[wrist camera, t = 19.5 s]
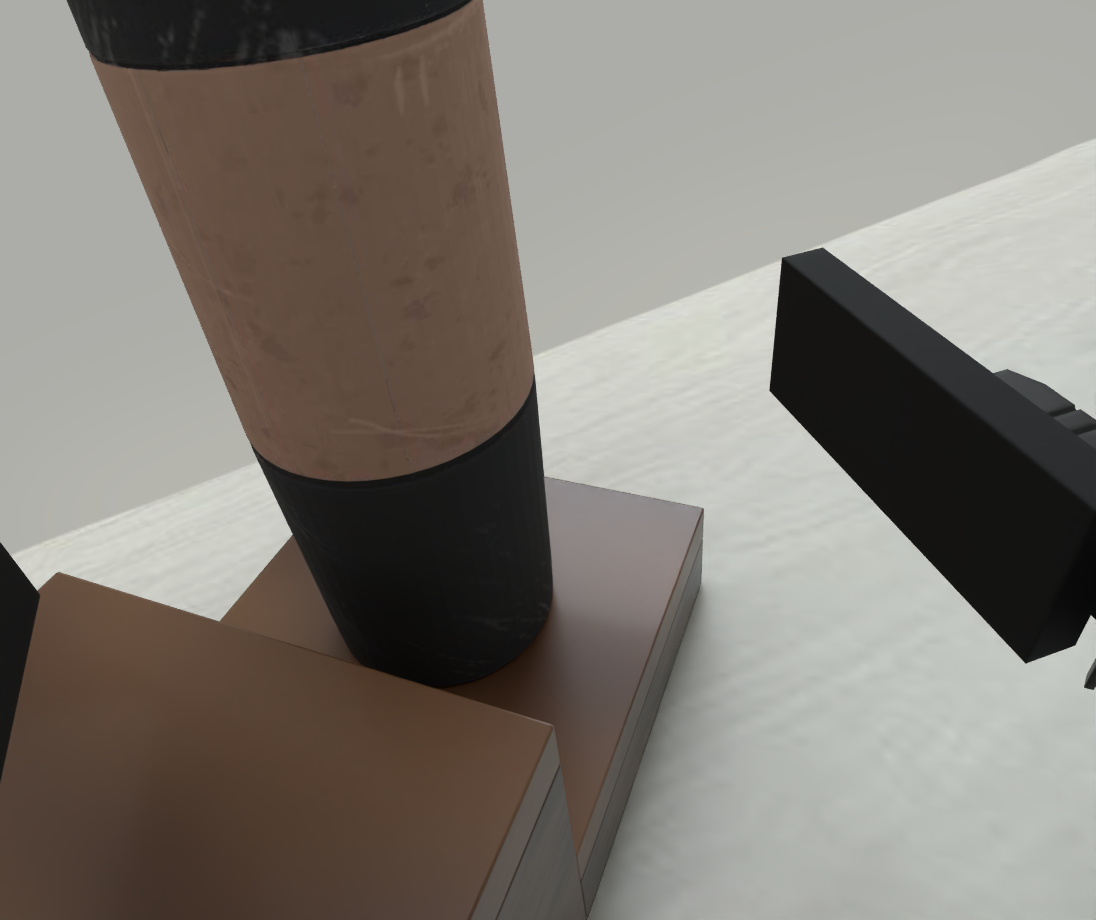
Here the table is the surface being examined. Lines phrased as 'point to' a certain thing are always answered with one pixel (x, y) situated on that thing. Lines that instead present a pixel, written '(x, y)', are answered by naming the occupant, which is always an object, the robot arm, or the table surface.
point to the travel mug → (355, 297)
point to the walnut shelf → (340, 745)
